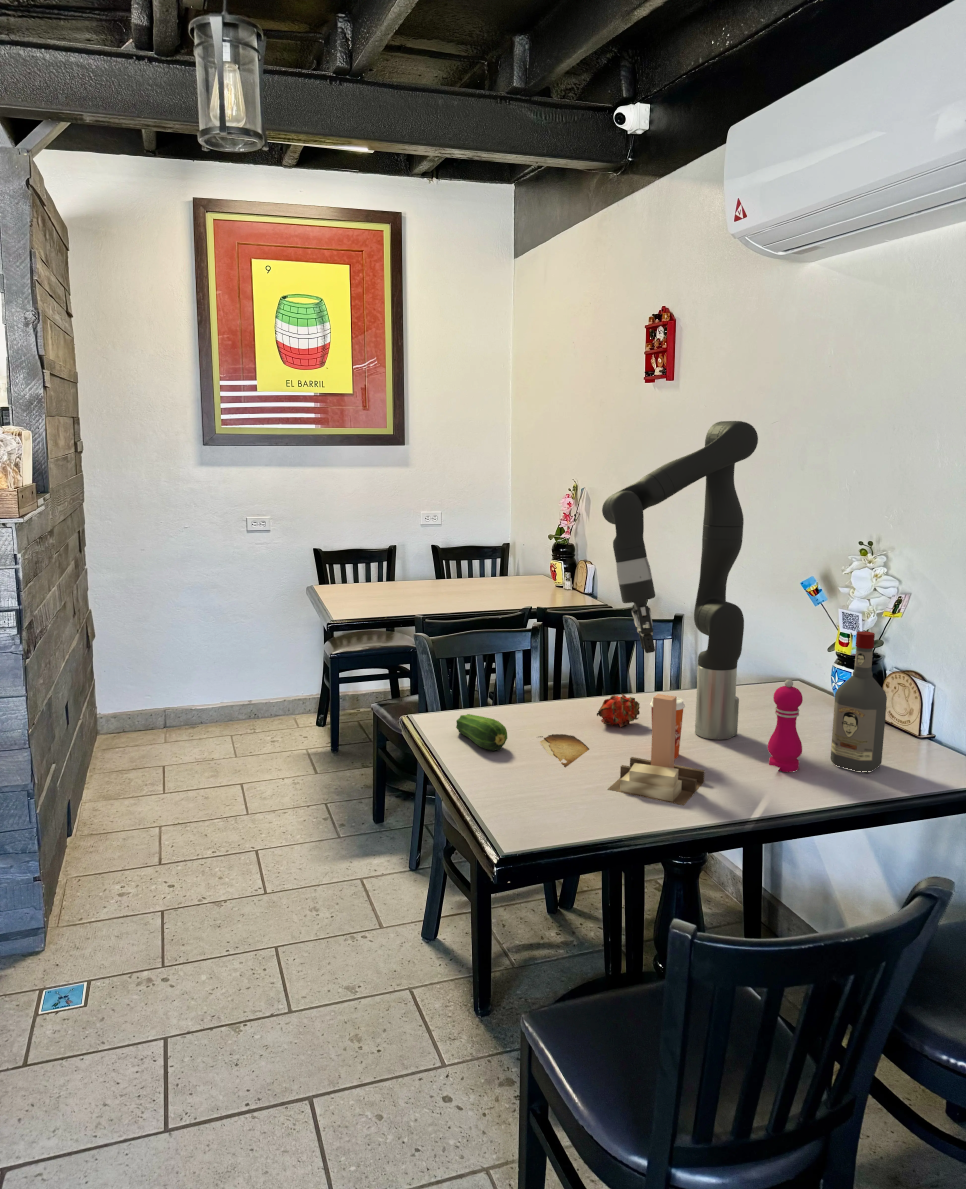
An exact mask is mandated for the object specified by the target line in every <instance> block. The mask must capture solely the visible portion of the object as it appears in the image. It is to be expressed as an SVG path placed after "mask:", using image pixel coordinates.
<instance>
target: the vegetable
mask: <svg viewBox="0 0 966 1189" xmlns="http://www.w3.org/2000/svg"><path fill="white" fill-rule="evenodd" d="M455 723H456V726H455V729H456V730H458V733H459V734H461V735H463V736H464V737H467V738H469V739H470V740H471V741H472V742H473V743H474V744H475V745H477V746H479V747H480V748H482V749H484V750H487V751H492V752H493V751H497V750H498V751H499V750H500V749H502V748H503V747H504V745H506V743H507V739H508V732H507V728H506V726H505V725H504V724H503V723H501V722H500V721H498V720H497V719H495V718H490V717H487V716H486V717H485V716H482V715H475V714H470V713H469V714H468V713H467V714H462V715H460V716H459V718H458V719H457V720H456V722H455Z"/></svg>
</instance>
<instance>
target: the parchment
mask: <svg viewBox="0 0 966 1189" xmlns="http://www.w3.org/2000/svg"><path fill="white" fill-rule="evenodd" d="M536 738H537V739H538V736H536ZM539 738H543V739H542V740H540V741H539V743H540V745H541V746H542V748H544V750H545V751H546V752H547V754H548V756H552V757H554V758H555V759H558V761H559V762H560V764H561V765H562V766H563V767H564V768H567V767H569V766H570V765H571V764H572V763H574V762H576V760H578V758H580V757H582V756H583V755H584V754H586V752H588V751H589V750H590V748H589V747H588V745H587V744H585V743H584V742H583V741H582V740H581V739H578V738H577V737H576V736H575V735H572V734H570V735H569V734H563V733H559V734H558V733H556V734H554V733H553V734H548V735H547V736H545V737H544V736H542V735H541V736H539ZM563 760H564V761H566V762H563Z"/></svg>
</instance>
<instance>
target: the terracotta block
mask: <svg viewBox="0 0 966 1189" xmlns="http://www.w3.org/2000/svg"><path fill="white" fill-rule="evenodd" d="M677 697H678V696H675V695H669V694H661V693H657V694H656V695H654V696H653V697H652V699H653V717H652V716H651V747H650V748H651V749H650V750H651V751H650V752H651V754H650V760H651V765H653V766H660V767H668V768H674V765H675V759H674V752H675V726H676V701H677Z"/></svg>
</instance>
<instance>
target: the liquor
mask: <svg viewBox="0 0 966 1189" xmlns="http://www.w3.org/2000/svg"><path fill="white" fill-rule="evenodd" d="M875 634H876V633H875V632H873V631H864V630H862V631H857V632H856V635H855V636H856V637H855V658H854V667H853V668H854V669H853V671H852V675H851V676H850V677H849V678H847V680H845V682H843V683H842V684H841V685H840V686H839V687H837V689H836V691H835V695H834V705H833V719H832V730H831V731H832V734H831V748H830V760H831V762H833V763H834V764H835V765H837V766H840V767H844V768H848V769H852V770H855V771H861V772H862V771H867V772H868V771H872V770H873V771H874V769H875V768H876V769H878V768H879V767H880V766H881V765H882V761H883V760H882V759H883V750H884V736H885V726H886V725H885V724H886V716H887V715H886V714H887V713H886V712H887V701H888V697H887V694H886V692H885V690H884V689H883V688H882V687H881V685H880V684H879V683H878V681H877V680H876V679H875V678H874V676H873V671H872V670H873V668H872V666H873V665H872V664H873V656H874V655H873V651H874V648H875V636H876V635H875ZM833 763H832V764H833ZM834 764H833V765H834ZM835 765H834V766H835ZM878 766H879V767H878ZM877 767H878V768H877ZM876 769H875V770H876ZM873 771H872V772H873Z"/></svg>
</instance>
